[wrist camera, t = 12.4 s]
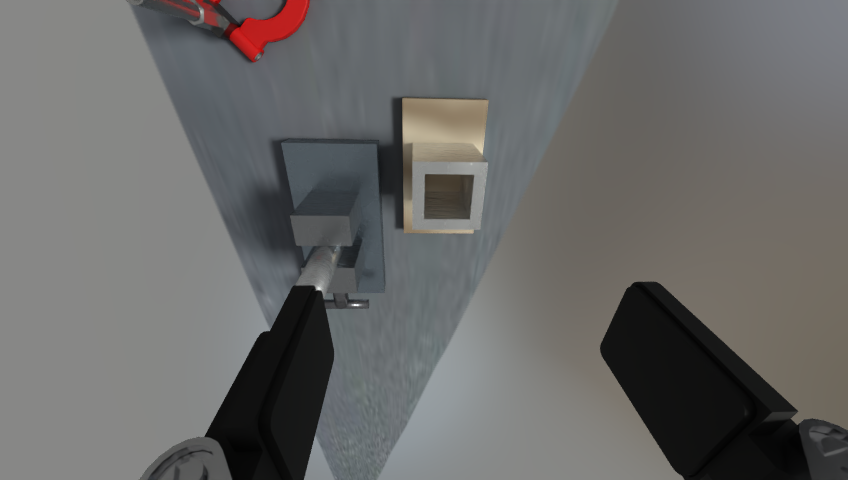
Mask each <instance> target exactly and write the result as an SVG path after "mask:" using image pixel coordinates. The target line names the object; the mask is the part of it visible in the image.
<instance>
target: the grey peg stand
mask: <svg viewBox="0 0 848 480" xmlns="http://www.w3.org/2000/svg"><path fill="white" fill-rule="evenodd" d="M281 145H282V150H283V155H284V160H285V165H286V170H287V175H288V180H289V185H290V190H291V195H292V200H293V205H294V211H293V212H292V214H291V215H290V219H291V224H292V228H293V233H294V238H295V243H296V246H302V251H303V256H304V263H303V265H302V267H301V271H302V274H301V276H300V277H299V279H298V281H297V283H296V285H314V286H315V287H316V290H321V291H322V294H323V298H325V295H326V293H333V297H334V300H324V303H325V308H326V309H357V308H369V300H349V297H348V293H384V291H385V262H384V242H383V221H382V200H381V180H380V159H379V140H340V139H287V140H285V141H283V142H282V143H281Z"/></svg>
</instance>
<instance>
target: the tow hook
mask: <svg viewBox="0 0 848 480" xmlns="http://www.w3.org/2000/svg"><path fill="white" fill-rule="evenodd" d="M126 1H127V2H129V3H131V4H133V5H136V6H140V7H143V8H147V9H150V10H154V11H158V12H161V13H165V14H168V15H172V16H175V17H179V18H182V19H186V20H188V21H189V22H190V23H191V24H192V25H194V26H197V27H201V28H205V29H209V30H211V31H212V32H213V33H214V34H215V35H216V36H217V37H218V38H222V39H226V40H231V41H232V42H233V43H234V44H235V45H236V46H237V47H238V48H239V49H240V50H241V51H242V52H243V53H244V54H245V55H246V56H247V57H248V58H249V59H250V60H251V61H252V62H256V61H258V60H259V59H260V58H261V57H262V55H263V53H264V50H263V48H264V47H265V45H266V44H267V43H268V42H276V41H279V40H283V39H286V38H288V37H289V36H290V35H292V34H293V33H294V32H296V31H297V30H298V28H299V27H300V25H301V24H302V23H303V21H304V20H305V17H306V14H307V11H308V8H309V2H310V0H287V2H286V5H285V7H284V8H283V10H282V11H281V12H280V13H279V14H278V15H276V16H275V17H274V18H271V19H267V20H256V19H253V18H247V19H246V20H245V21H244V23H243V24H242V25H240V24H239V23H238V22H237V21H236V20H235V19H234V18H233V17H232V16H231V15H230V14H229V13H228V12H227V11H226V10H225V9H224V8H223V7H222V6H221V5H220V4H219V2H220V1H221V0H126Z"/></svg>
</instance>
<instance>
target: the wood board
mask: <svg viewBox="0 0 848 480" xmlns="http://www.w3.org/2000/svg"><path fill="white" fill-rule="evenodd" d="M488 101H489V100H487V99H456V98H410V97H403V98H402V108H403V197H404V233H474V230H412V157H413V143H462V144H474V145H475V146H476V148H477V149H478V150H479V151H480V153H481V154H483V145H484V136H485V127H486V118H487V110H488ZM460 178H461V174H425V191H459V190H460Z"/></svg>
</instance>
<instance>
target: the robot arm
mask: <svg viewBox="0 0 848 480" xmlns="http://www.w3.org/2000/svg"><path fill="white" fill-rule="evenodd" d="M600 351H601V355H602V357H603V359H604V360H605V361H606V363H607V365H608V366H609V368H610V369H611V371H612V373H613V374H614V376H615V377H616V379H617V381H618V382H619V384H620V385H621V387H622V389H623V390H624V392H625V393H626V395H627V396H628V398H629V400H630V401H631V403H632V404H633V406H634V407H635V409H636V411H637V412H638V414H639V415H640V417H641V418H642V420H643V422H644V423H645V425H646V426H647V428H648V430H649V431H650V433H651V434H652V436H653V438H654V439H655V441H656V442H657V444H658V445H659V447H660V448H661V450H662V452H663V453H664V455H665V456H666V458H667V460H668V461H669V463H670V464H671V466H672V467H673V468H674V470H675V471H676V472H677V473H678V474H680V475H682V476H683V478H684V480H848V430H846V429H844V428H842V427H840V426H838V425H835V424H832V423H830V422H827V421H824V420H818V419H813V418H812V419H805V420H803V421H802V422H800V423H799V424H798V425H796V424H795V423H794V422H793V421H792V420H791V419H790V418H792V417H793V416H794V415H795V414H796V413H797V412H798V411H797V410H796V409H795V408H794V407H793V406H792V405H791V404H790V403H789V402H788V401H787V400H785V399H784V398H783V397H782V396H781V395H780V394H779V393H778V392H777V391H776V390H775V389H774V388H772V387H771V386H770V385H769V384H768V383H767V382H766V381H765V380H764V379H763V378H762V377H761V376H759V375H758V374H757V373H756V372H755V371H754V370H753V369H752V368H751V367H750V366H749V365H748V364H746V363H745V362H744V361H743V360H742V359H741V358H740V357H739V356H738V355H737V354H736V353H735V352H733V351H732V350H731V349H730V348H729V347H728V346H727V345H726V344H725V343H724V342H723V341H722V340H720V339H719V338H718V337H717V336H716V335H715V334H714V333H713V332H712V331H710V329H708V328H707V327H706V326H705V325H704V324H703V323H702V322H701V321H700V320H699V319H698V318H696V317H695V316H694V315H693V314H692V313H691V312H690V311H689V310H688V309H687V308H686V307H685V306H684V305H682V304H681V303H680V302H679V301H678V300H677V299H676V298H675V297H674V296H673V295H672V294H671V293H669V292H668V291H667V290H666V289H665V288H664V287H663V286H662V285H661V284H659V283H657V282H634V283H633V284H632V285H631V286H630V287H628V288H627V289H626V291H625V293H624V296H623V298H622V300H621V302H620V304H619V306H618V309H617V311H616V313H615V315H614V317H613V319H612V321H611V324H610V326H609V328H608V330H607V332H606V334H605V337H604V338H603V341H602V343H601V346H600ZM333 361H334V348H333V343H332V338H331V333H330V328H329V323H328V318H327V313H326V308H325V303H324V298H323V294H322V291H321V290H316V287H315V286H314V285H295V286H293V287H292V289H291V291H290V293H289V294H288V296H287V298H286V300H285V302H284V304H283V306H282V308H281V310H280V312H279V314H278V316H277V318H276V320H275V322H274V324H273V326H272V328H271V330H270V331H266V332H263V333H261V334H260V335H259V337H258V338H257V340H256V342H255V343H254V345H253V347H252V349H251V351H250V353H249V355H248V356H247V358H246V360H245V362H244V364H243V366H242V368H241V370H240V371H239V373H238V375H237V377H236V379H235V381H234V383H233V384H232V386H231V388H230V390H229V392H228V394H227V396H226V397H225V399H224V401H223V403H222V405H221V407H220V408H219V410H218V412H217V414H216V416H215V418H214V420H213V422H212V423H211V425H210V427H209V429H208V431H207V433H206V435H205V437H197V438H192V439H188V440H185V441H183V442H181V443H179V444H177V445H175V446H173V447H172V448H170V449H169V450H167V451H166V452H165V453H163V454H162V455H160V456H159V457H158V458H157V459H156V460H155V461H154V462H153V463H152V464H151V465H150V466H149V467H148V468H147V470H146V471H145V472H144V474H143V475H142V477H141V478H140V480H304V476H305V472H306V469H307V465H308V461H309V457H310V453H311V449H312V445H313V441H314V437H315V433H316V429H317V425H318V421H319V417H320V413H321V409H322V405H323V401H324V397H325V393H326V389H327V385H328V381H329V377H330V373H331V369H332V365H333Z"/></svg>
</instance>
